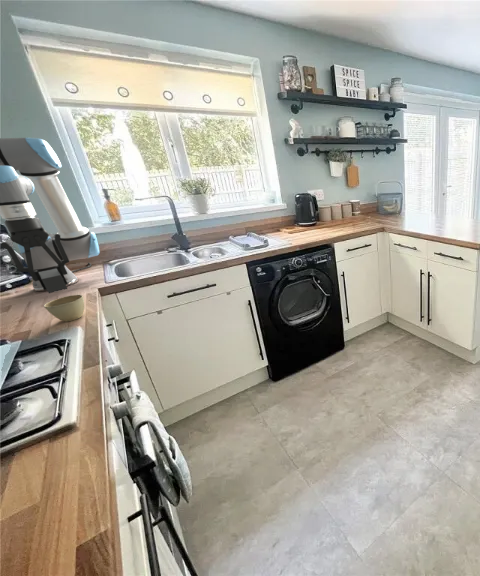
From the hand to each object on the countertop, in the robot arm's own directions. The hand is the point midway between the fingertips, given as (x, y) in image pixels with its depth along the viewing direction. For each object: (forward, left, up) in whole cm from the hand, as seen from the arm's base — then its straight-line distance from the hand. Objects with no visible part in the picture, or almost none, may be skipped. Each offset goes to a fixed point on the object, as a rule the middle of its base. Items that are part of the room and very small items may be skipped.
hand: (55, 286), depth 106 cm
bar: (0, 0, 0) cm, 0 cm away
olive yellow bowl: (0, 0, -13) cm, 13 cm away
